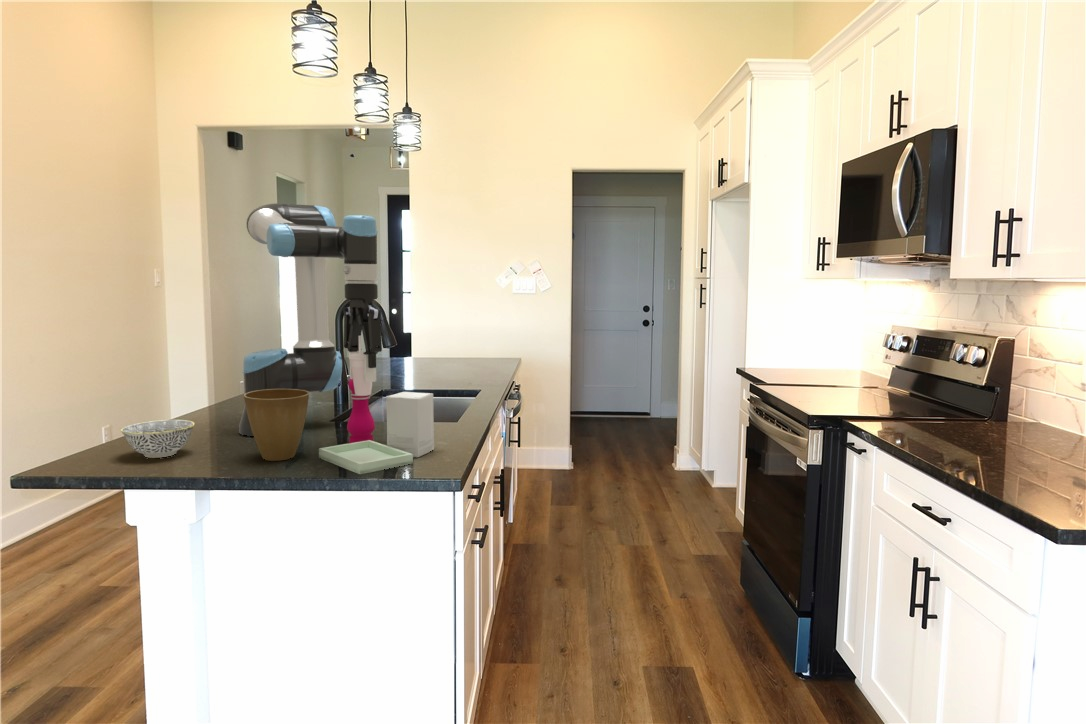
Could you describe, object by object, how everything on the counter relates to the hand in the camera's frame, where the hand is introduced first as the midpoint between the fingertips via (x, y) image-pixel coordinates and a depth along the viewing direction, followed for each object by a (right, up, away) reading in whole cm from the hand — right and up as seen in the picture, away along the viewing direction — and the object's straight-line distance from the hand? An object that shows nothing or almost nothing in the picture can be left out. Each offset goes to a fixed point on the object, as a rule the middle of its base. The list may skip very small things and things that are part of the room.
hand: (362, 379), depth 171 cm
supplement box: (+9, -19, +11) cm, 24 cm away
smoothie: (0, -4, 0) cm, 4 cm away
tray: (0, -20, +2) cm, 20 cm away
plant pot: (-22, -19, +5) cm, 30 cm away
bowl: (-52, -19, +6) cm, 55 cm away
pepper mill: (-6, -18, +22) cm, 28 cm away
